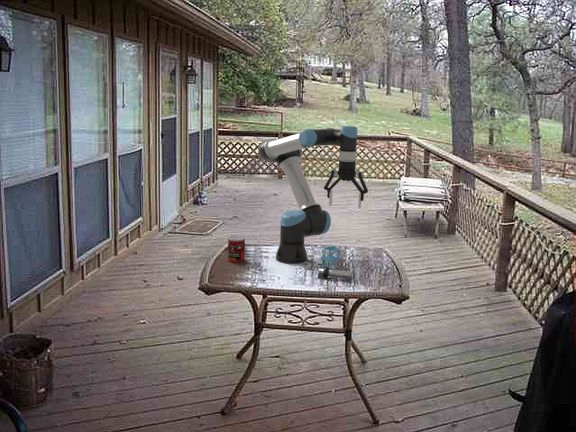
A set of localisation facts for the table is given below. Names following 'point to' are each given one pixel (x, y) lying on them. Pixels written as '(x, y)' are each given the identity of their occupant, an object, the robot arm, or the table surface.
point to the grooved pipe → (334, 274)
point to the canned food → (236, 249)
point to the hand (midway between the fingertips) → (344, 206)
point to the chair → (330, 256)
